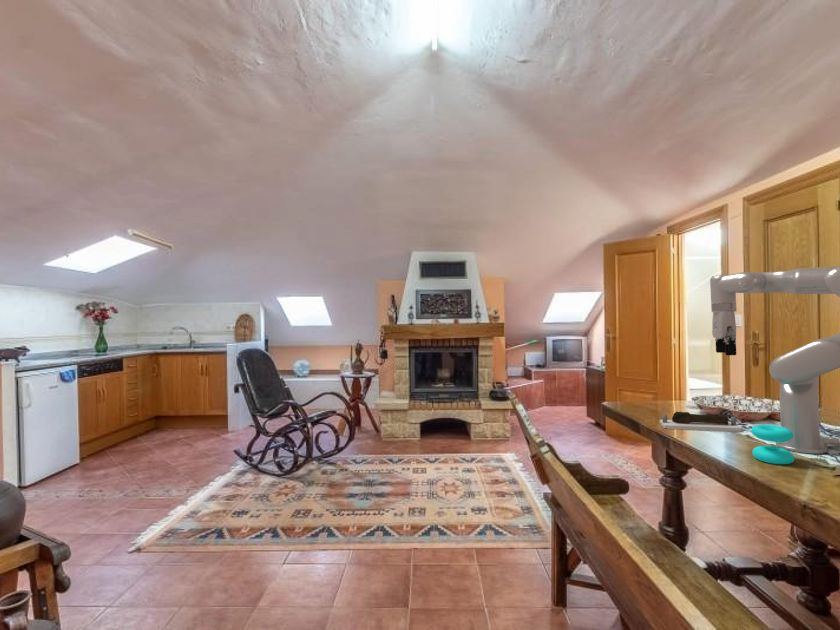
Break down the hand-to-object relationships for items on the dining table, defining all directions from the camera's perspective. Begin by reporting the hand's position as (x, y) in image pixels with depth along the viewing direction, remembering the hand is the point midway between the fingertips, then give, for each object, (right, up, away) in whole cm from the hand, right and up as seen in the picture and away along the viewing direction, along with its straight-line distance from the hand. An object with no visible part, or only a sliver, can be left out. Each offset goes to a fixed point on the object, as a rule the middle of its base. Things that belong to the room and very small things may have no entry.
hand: (725, 353), depth 153 cm
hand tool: (-3, -29, +10) cm, 31 cm away
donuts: (-4, -31, -26) cm, 40 cm away
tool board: (-3, -31, +11) cm, 32 cm away
